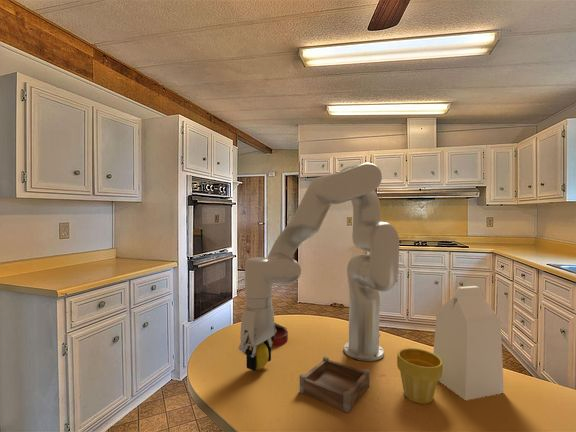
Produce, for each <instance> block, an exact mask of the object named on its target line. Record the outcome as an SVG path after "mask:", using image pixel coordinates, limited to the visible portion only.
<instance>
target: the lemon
mask: <svg viewBox="0 0 576 432" xmlns="http://www.w3.org/2000/svg"><path fill="white" fill-rule="evenodd" d="M250 350H251V351H252V347H251V346H250ZM255 356H256V360H257V369H256V370H261V369H263V368H264V367H265V366H266V365H267V363H268V362H269V361H268V358H269V352H268V348H267V346H266V345H265V344H264V343H260V344H258V345H257V347H256V352H255Z"/></svg>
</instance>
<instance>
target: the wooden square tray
mask: <svg viewBox="0 0 576 432" xmlns="http://www.w3.org/2000/svg"><path fill="white" fill-rule="evenodd" d="M370 374H371V372H370V370H369V369H363V370H361V369H358V368H356V367H353V366H349V365H346V364H344V363H340V362H338V361H334V360H331V359H330V358H329V356H323V358H322V360H321V361H320V362H319V363H317V364H316V365H315V366H314V367H312V368H311V369H310V370H308V372H306V373H305V374H300V375H299V394H302V395H303V394H304V395H305V396H308V397H310V398H313V399H315V400H318V401H320V402H323V403H325V404H326V405H329V406H331V407H335V408H336V409H339V410H341V411H343V412H344V413H348V414H349V413H350V412H351V409H352V408H353V406H355V404H356V403H357V402H358V400H359V399H360V398H361V397H362V395H364V393H365V391H366V390H367V389H369V388H370V384H371V383H370V380H371V377H370V376H371V375H370Z"/></svg>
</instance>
